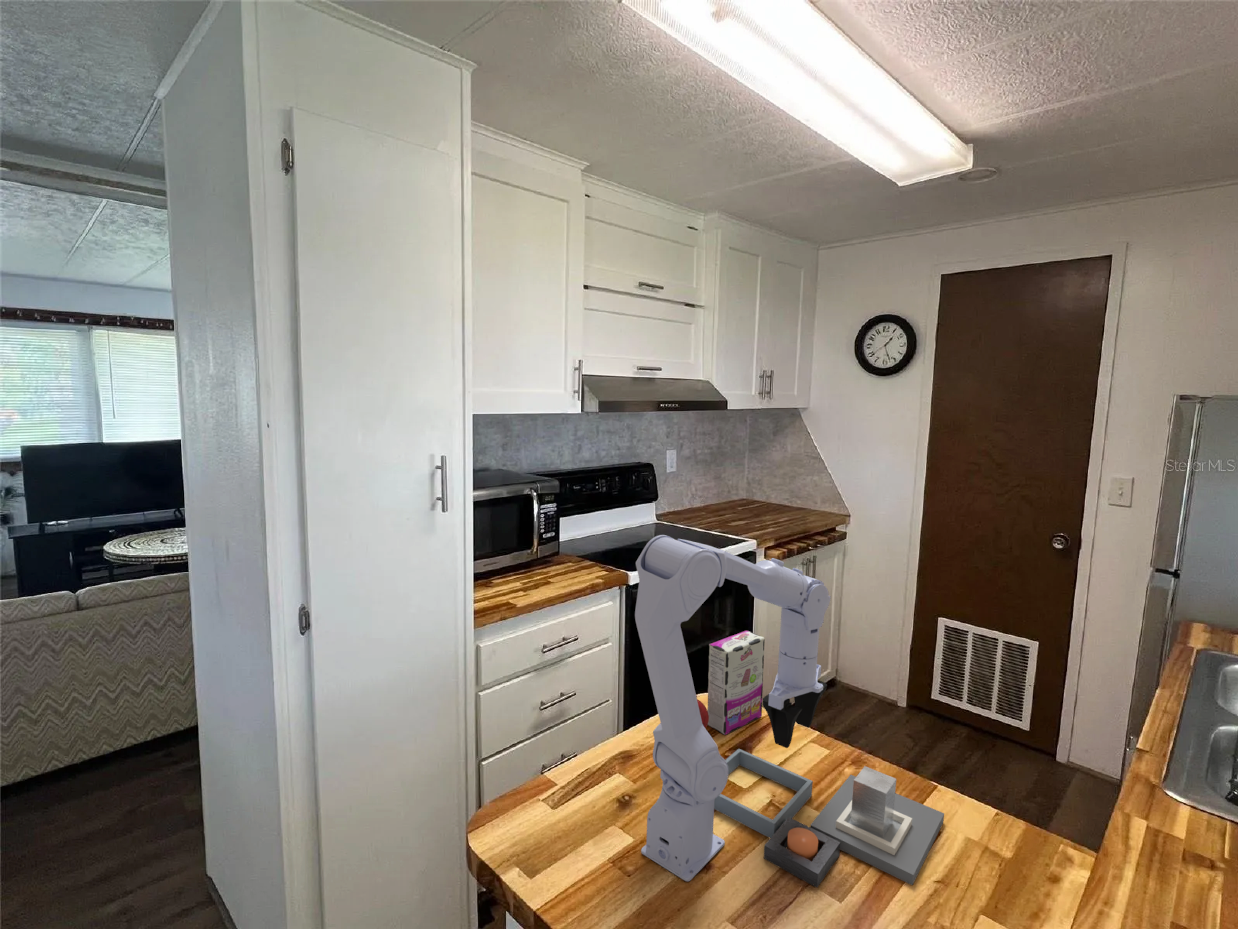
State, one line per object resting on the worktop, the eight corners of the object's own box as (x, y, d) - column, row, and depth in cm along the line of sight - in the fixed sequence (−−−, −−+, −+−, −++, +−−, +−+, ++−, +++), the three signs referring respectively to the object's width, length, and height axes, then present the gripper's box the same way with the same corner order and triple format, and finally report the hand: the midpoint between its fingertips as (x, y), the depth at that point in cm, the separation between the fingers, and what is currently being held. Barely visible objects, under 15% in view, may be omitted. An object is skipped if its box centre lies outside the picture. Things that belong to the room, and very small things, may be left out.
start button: (809, 869, 83) (810, 853, 83) (781, 854, 86) (782, 838, 85) (821, 853, 86) (822, 837, 86) (794, 839, 89) (795, 823, 89)
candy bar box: (742, 707, 126) (746, 629, 124) (762, 717, 123) (766, 637, 121) (704, 725, 119) (708, 642, 117) (724, 736, 116) (728, 651, 114)
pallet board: (912, 885, 82) (914, 868, 81) (809, 834, 90) (810, 818, 90) (943, 822, 94) (944, 807, 93) (850, 783, 103) (851, 768, 102)
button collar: (817, 888, 81) (818, 874, 80) (763, 858, 86) (764, 845, 85) (839, 855, 87) (840, 842, 86) (788, 829, 91) (788, 817, 91)
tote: (773, 840, 89) (774, 824, 89) (695, 799, 98) (696, 784, 97) (811, 795, 99) (812, 781, 99) (738, 762, 108) (738, 748, 107)
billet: (882, 840, 87) (886, 793, 87) (850, 825, 90) (853, 780, 89) (892, 823, 91) (896, 778, 90) (861, 809, 94) (864, 766, 93)
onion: (709, 745, 112) (711, 703, 111) (677, 744, 113) (679, 702, 112) (705, 728, 118) (707, 688, 117) (675, 727, 118) (676, 687, 117)
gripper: (803, 675, 88) (797, 765, 90) (841, 644, 99) (836, 725, 101) (757, 660, 92) (753, 746, 94) (799, 632, 103) (794, 710, 105)
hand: (793, 734), depth 98 cm, fingers open, 7 cm apart
